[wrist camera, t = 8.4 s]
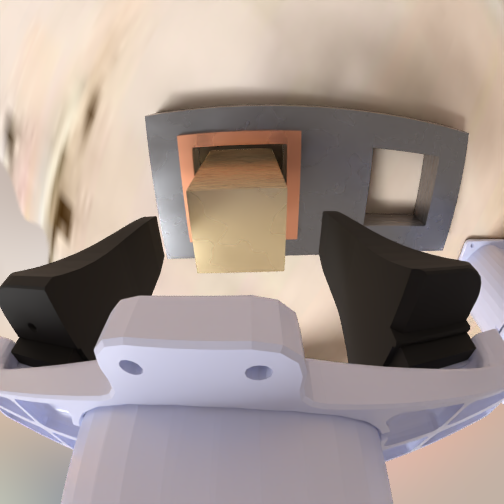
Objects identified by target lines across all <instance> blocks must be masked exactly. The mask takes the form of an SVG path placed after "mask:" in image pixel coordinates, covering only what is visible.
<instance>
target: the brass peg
mask: <svg viewBox="0 0 504 504" xmlns="http://www.w3.org/2000/svg"><path fill="white" fill-rule="evenodd" d="M186 196H187V204H188V212H189V219H190V227H191V234H192V241H193V248H194V254H195V261H196V267H197V273H234V272H270V271H284V265H285V244H286V219H287V185H286V183H285V180H284V178H283V175H282V173H281V170H280V168H279V165H278V163H277V160H276V158H275V156H274V153H273V151H272V148H252V149H225V150H210V152H209V153H208V155H207V157H206V158H205V160H204V161H203V163H202V165H201V166H200V168H199V170H198V171H197V173H196V175H195V177H194V178H193V180H192V182H191V183H190V185H189V187H188V189H187V190H186Z"/></svg>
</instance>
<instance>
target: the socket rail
mask: <svg viewBox="0 0 504 504" xmlns="http://www.w3.org/2000/svg"><path fill="white" fill-rule="evenodd" d="M145 121H146V131H147V140H148V148H149V156H150V163H151V170H152V177H153V184H154V190H155V196H156V202H157V208H158V213H159V219H160V224H161V230H162V235H163V240H164V245H165V249H166V254H167V259H176V258H195V254H194V248H193V241H192V234H191V227H190V219H189V212H188V204H187V196H186V190H187V189H188V187H189V185H190V183H191V182H192V180H193V178H194V177H195V175H196V173H197V171H198V170H199V168H200V158H199V147H208V146H225V145H249V144H283V178H284V180H285V183H286V185H287V219H286V244H285V256H286V255H318V254H319V244H320V235H321V225H322V214H323V211H338V212H340V213H342V214H344V215H346V216H348V217H350V218H351V219H353V220H355V221H356V222H358V223H360V224H362V225H363V226H365V227H367V228H369V229H370V230H372V231H374V232H376V233H378V234H380V235H382V236H383V237H386V238H388V239H390V240H392V241H394V242H397V243H399V244H401V245H404V246H406V247H409V248H412V249H415V250H418V251H437V250H443V248H444V245H445V242H446V239H447V235H448V232H449V228H450V225H451V221H452V218H453V214H454V210H455V206H456V202H457V198H458V193H459V189H460V184H461V179H462V174H463V169H464V163H465V157H466V150H467V143H468V135H469V133H467V132H464V131H461V130H458V129H455V128H452V127H448V126H444V125H440V124H436V123H432V122H428V121H423V120H418V119H414V118H408V117H403V116H398V115H392V114H386V113H379V112H372V111H365V110H357V109H348V108H337V107H325V106H308V105H232V106H216V107H203V108H193V109H184V110H175V111H168V112H161V113H154V114H151V115H147V116H145ZM373 148H381V149H390V150H398V151H406V152H413V153H420V154H424V160H423V166H422V173H421V179H420V185H419V190H418V195H417V200H416V205H415V210H414V214H413V215H408V214H365V211H366V204H367V197H368V190H369V182H370V174H371V165H372V156H373Z"/></svg>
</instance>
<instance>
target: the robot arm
mask: <svg viewBox="0 0 504 504" xmlns="http://www.w3.org/2000/svg"><path fill="white" fill-rule="evenodd" d="M319 256H320V261H321V265H322V269H323V272H324V275H325V277H326V280H327V283H328V285H329V288H330V290H331V293H332V296H333V298H334V301H335V304H336V306H337V309H338V312H339V316H340V320H341V324H342V329H343V334H344V339H345V344H346V350H347V356H348V363H341V362H332V361H325V360H317V359H310V358H305V354H304V348H303V343H302V337H301V331H300V327H299V323H298V319H297V316H296V313H295V312H294V311H293V310H291V309H290V308H288V307H287V306H286V305H284V304H283V303H282V302H280V301H279V300H276V299H270V298H264V297H258V296H252V295H241V296H151V295H152V293H153V290H154V288H155V285H156V283H157V280H158V278H159V275H160V272H161V268H162V264H163V260H164V252H163V247H162V242H161V237H160V232H159V227H158V222H157V217H156V216H153V217H143V218H140V219H138V220H136V221H134V222H132V223H130V224H129V225H127V226H125V227H123V228H122V229H120V230H119V231H117V232H115V233H114V234H112V235H110V236H108V237H107V238H105V239H103V240H101V241H100V242H98V243H96V244H94V245H92V246H91V247H89V248H87V249H84V250H82V251H80V252H78V253H76V254H74V255H71V256H68V257H66V258H64V259H61V260H59V261H56V262H53V263H50V264H47V265H43V266H40V267H36V268H33V269H28V270H24V271H19V272H14V273H12V274H10V275H9V277H8V278H7V279H6V280H5V281H4V283H3V284H2V285H1V286H0V307H1V309H2V311H3V313H4V315H5V316H6V318H7V320H8V321H9V323H10V324H11V326H12V328H13V329H14V330H15V332H16V333H17V335H18V337H19V339H18V340H17V342H16V343H15V342H13V341H12V340H10V339H8V338H5V337H1V336H0V411H1V412H2V413H3V414H4V415H5V416H7V417H8V418H10V419H12V420H14V421H16V422H18V423H20V424H22V425H23V426H25V427H28V428H29V429H31V430H33V431H35V432H37V433H39V434H41V435H43V436H45V437H47V438H49V439H51V440H53V441H55V442H57V443H60V444H62V445H64V446H66V447H69V448H71V449H73V453H72V457H71V461H70V465H69V469H68V473H67V477H66V482H65V486H64V491H63V496H62V501H61V504H393V500H392V494H391V489H390V484H389V479H388V475H387V469H386V464H385V462H386V461H389V460H392V459H394V458H397V457H400V456H402V455H405V454H408V453H411V452H413V451H415V450H418V449H420V448H422V447H425V446H427V445H429V444H431V443H434V442H436V441H438V440H440V439H443V438H444V437H447V436H449V435H451V434H453V433H455V432H457V431H459V430H461V429H463V428H465V427H467V426H469V425H471V424H473V423H474V422H476V421H478V420H480V419H482V418H484V417H486V416H487V415H488V414H490V413H491V412H492V411H493V410H494V409H495V408H496V407H497V406H498V405H499V404H500V403H501V402H502V403H503V404H504V239H468V240H466V241H465V243H464V246H463V249H462V252H461V254H460V257H459V260H455V259H449V258H443V257H439V256H435V255H431V254H428V253H424V252H421V251H418V250H415V249H412V248H409V247H406V246H404V245H401V244H399V243H397V242H394V241H392V240H390V239H388V238H386V237H383V236H382V235H380V234H378V233H376V232H374V231H372V230H370V229H369V228H367V227H365V226H363V225H362V224H360V223H358V222H356V221H355V220H353V219H351V218H350V217H348V216H346V215H344V214H342V213H340V212H338V211H323V214H322V225H321V235H320V244H319ZM469 314H471V316H472V317H473V319H474V320H475V322H476V323H477V325H478V326H479V328H480V329H481V331H482V332H481V333H478V334H476V335H475V336H474V337H472V338H470V337H469V335H468V333H467V332H468V331H469V330H470V325H469V324H468V322H467V321H466V319H467V318H468V316H469Z"/></svg>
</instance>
